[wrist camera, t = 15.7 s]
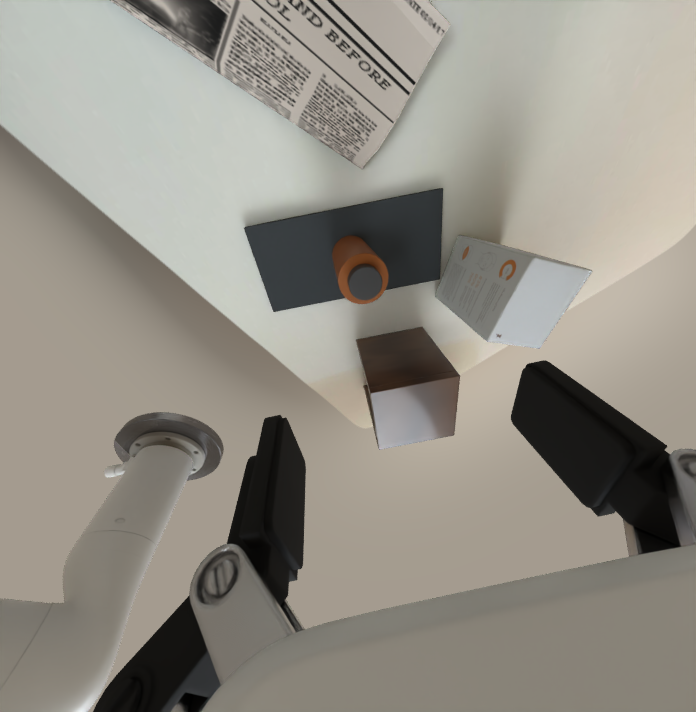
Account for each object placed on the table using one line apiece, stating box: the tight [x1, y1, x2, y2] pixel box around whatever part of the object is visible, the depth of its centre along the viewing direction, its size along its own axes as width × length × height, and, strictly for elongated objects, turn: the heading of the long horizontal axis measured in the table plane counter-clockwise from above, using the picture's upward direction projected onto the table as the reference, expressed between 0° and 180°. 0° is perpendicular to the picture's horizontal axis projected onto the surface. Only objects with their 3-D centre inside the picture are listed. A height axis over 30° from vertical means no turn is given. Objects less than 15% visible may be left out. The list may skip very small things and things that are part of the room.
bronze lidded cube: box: [356, 327, 460, 450], centre depth 36 cm, size 10×10×12 cm
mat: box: [244, 188, 443, 312], centre depth 31 cm, size 22×10×1 cm, turn 99°
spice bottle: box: [332, 235, 388, 304], centre depth 26 cm, size 4×4×11 cm
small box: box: [435, 235, 592, 349], centre depth 29 cm, size 8×6×13 cm
